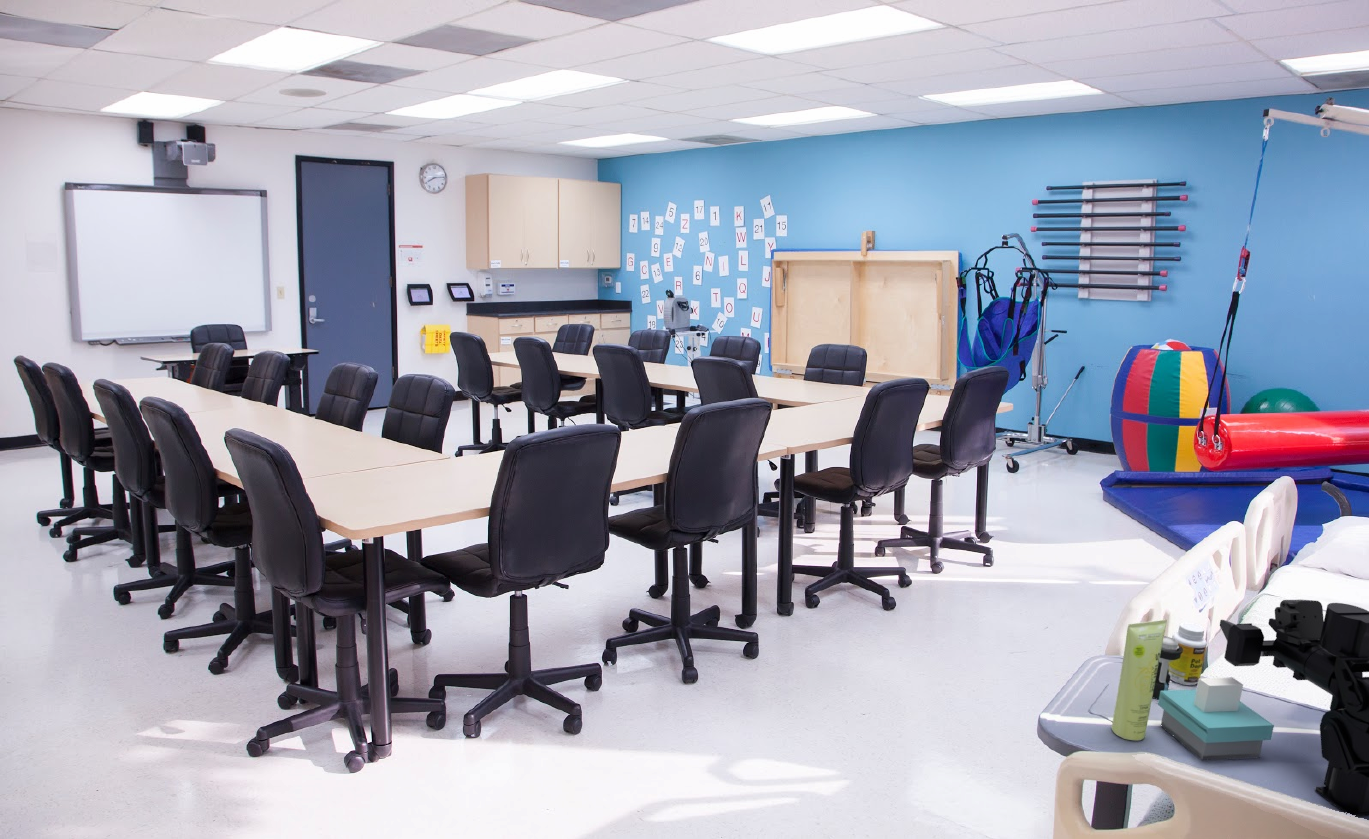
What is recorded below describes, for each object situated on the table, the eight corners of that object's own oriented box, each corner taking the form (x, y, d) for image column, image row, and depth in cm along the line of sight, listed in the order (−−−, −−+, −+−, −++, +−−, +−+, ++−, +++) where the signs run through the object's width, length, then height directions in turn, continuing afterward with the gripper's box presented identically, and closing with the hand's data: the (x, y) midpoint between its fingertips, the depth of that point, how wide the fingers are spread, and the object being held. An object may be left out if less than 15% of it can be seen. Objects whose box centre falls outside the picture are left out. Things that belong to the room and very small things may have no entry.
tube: (1142, 746, 154) (1164, 631, 150) (1108, 736, 156) (1128, 623, 152) (1146, 731, 159) (1167, 619, 154) (1112, 721, 161) (1132, 610, 157)
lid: (1270, 739, 152) (1279, 698, 150) (1205, 742, 150) (1213, 700, 148) (1219, 702, 163) (1227, 663, 161) (1157, 704, 160) (1165, 665, 159)
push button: (1136, 680, 176) (1145, 628, 174) (1168, 685, 175) (1178, 633, 173) (1144, 697, 170) (1153, 644, 168) (1177, 703, 169) (1187, 649, 166)
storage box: (1259, 757, 153) (1265, 728, 152) (1202, 760, 151) (1208, 731, 150) (1214, 723, 162) (1220, 696, 161) (1160, 725, 161) (1165, 698, 160)
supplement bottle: (1188, 689, 174) (1198, 635, 172) (1158, 675, 178) (1168, 623, 176) (1205, 682, 177) (1215, 629, 175) (1175, 669, 182) (1185, 617, 179)
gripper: (1384, 614, 148) (1303, 575, 163) (1276, 617, 144) (1203, 576, 159) (1369, 682, 150) (1290, 637, 165) (1262, 686, 147) (1192, 640, 162)
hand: (1245, 621), depth 163 cm, fingers open, 9 cm apart
